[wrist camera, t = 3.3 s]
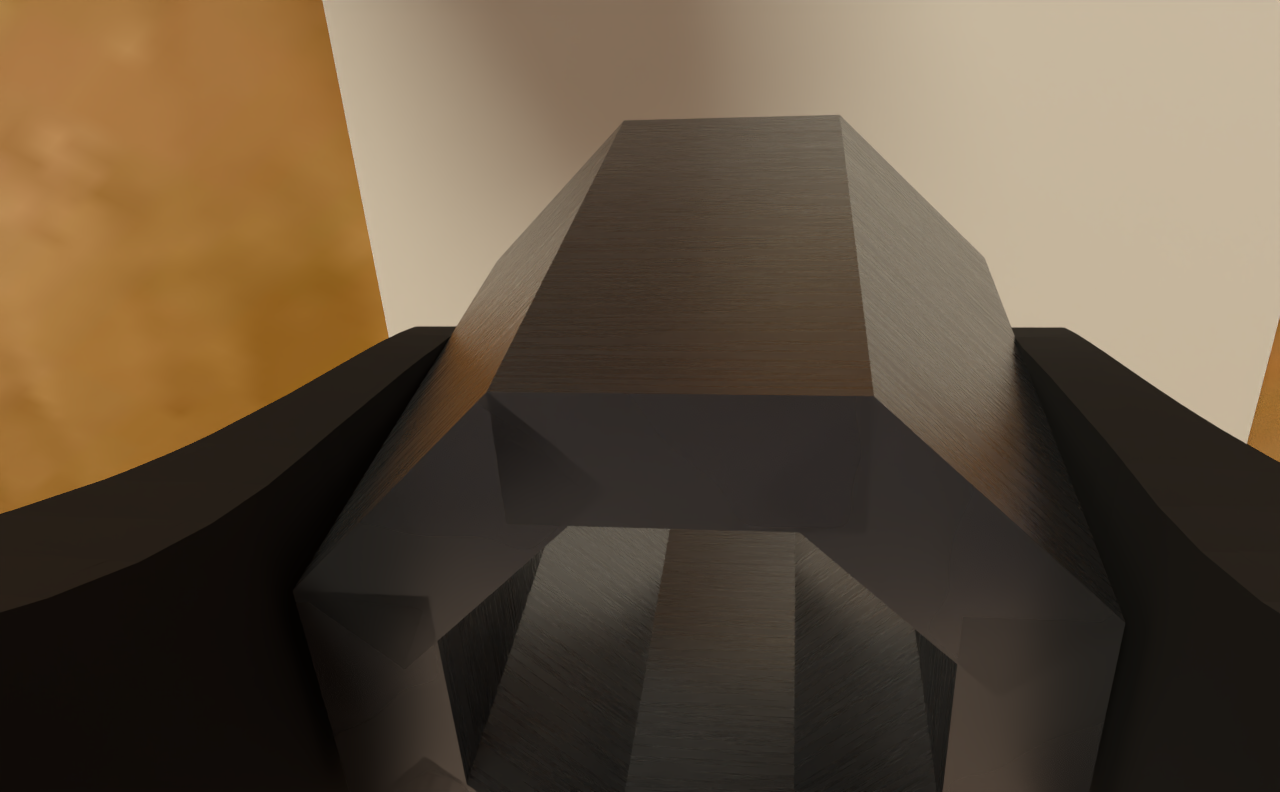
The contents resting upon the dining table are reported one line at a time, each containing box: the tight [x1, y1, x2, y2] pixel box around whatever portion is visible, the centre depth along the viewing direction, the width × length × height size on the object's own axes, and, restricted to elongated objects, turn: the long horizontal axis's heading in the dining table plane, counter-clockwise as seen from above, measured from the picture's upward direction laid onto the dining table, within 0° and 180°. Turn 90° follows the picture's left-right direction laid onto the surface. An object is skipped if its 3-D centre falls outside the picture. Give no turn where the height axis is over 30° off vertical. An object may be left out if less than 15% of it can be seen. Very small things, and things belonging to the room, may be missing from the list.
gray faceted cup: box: [293, 115, 1125, 792], centre depth 10 cm, size 6×6×6 cm
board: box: [323, 0, 1280, 444], centre depth 21 cm, size 16×22×1 cm
